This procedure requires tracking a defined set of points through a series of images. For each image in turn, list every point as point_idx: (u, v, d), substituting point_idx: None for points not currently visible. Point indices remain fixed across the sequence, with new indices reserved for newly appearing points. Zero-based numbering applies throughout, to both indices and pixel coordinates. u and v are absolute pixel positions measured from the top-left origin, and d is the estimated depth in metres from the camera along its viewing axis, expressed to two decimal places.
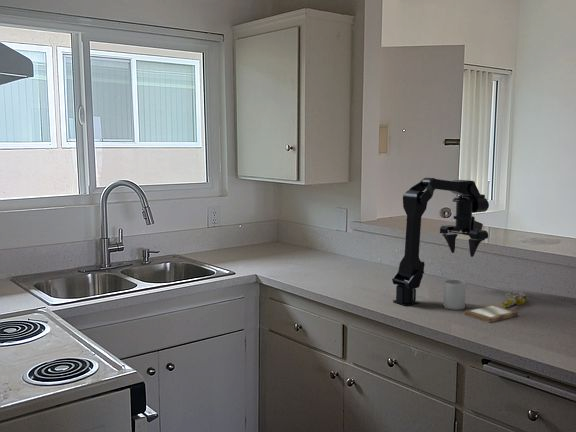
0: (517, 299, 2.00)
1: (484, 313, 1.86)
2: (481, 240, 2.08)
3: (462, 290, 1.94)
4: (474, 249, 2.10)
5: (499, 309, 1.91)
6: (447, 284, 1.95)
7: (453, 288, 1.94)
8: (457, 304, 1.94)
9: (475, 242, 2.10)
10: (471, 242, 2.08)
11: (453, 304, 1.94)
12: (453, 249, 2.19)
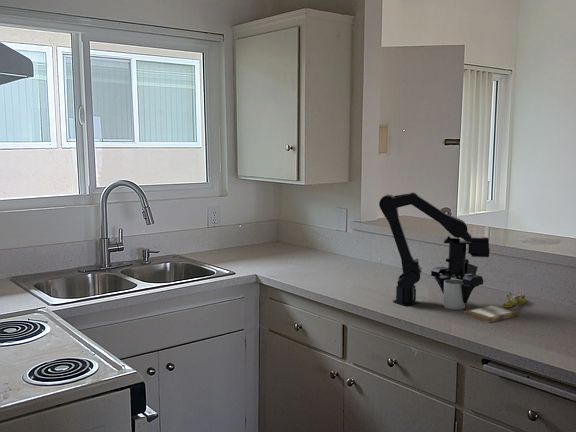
0: (517, 299, 2.00)
1: (484, 313, 1.86)
2: (475, 286, 1.92)
3: None
4: (467, 295, 1.94)
5: (499, 309, 1.91)
6: (447, 284, 1.95)
7: (453, 288, 1.94)
8: (457, 304, 1.94)
9: (468, 288, 1.93)
10: (464, 288, 1.92)
11: (453, 304, 1.94)
12: None
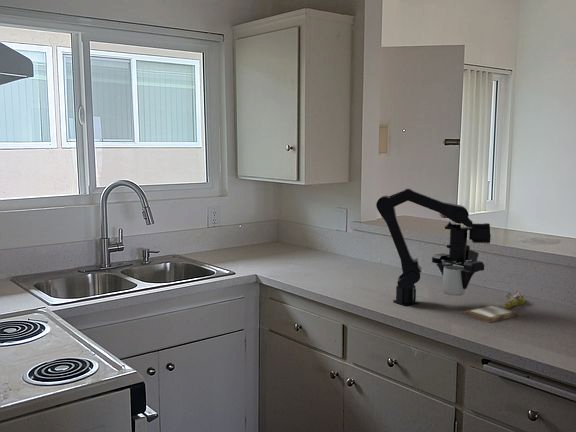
0: (518, 299, 2.00)
1: (484, 313, 1.86)
2: (475, 271, 1.92)
3: None
4: (467, 281, 1.94)
5: (499, 309, 1.91)
6: (447, 270, 1.95)
7: (453, 274, 1.93)
8: (457, 290, 1.94)
9: (468, 273, 1.93)
10: (464, 274, 1.91)
11: (453, 290, 1.94)
12: None
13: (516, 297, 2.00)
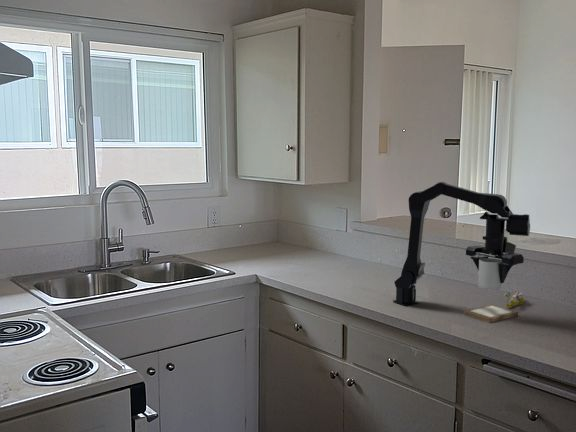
0: (518, 299, 2.00)
1: (484, 313, 1.86)
2: (513, 264, 1.81)
3: None
4: (505, 274, 1.83)
5: (499, 309, 1.91)
6: (483, 262, 1.84)
7: (490, 266, 1.83)
8: (494, 284, 1.83)
9: (506, 266, 1.82)
10: (502, 267, 1.81)
11: (490, 284, 1.83)
12: None
13: (516, 297, 2.00)
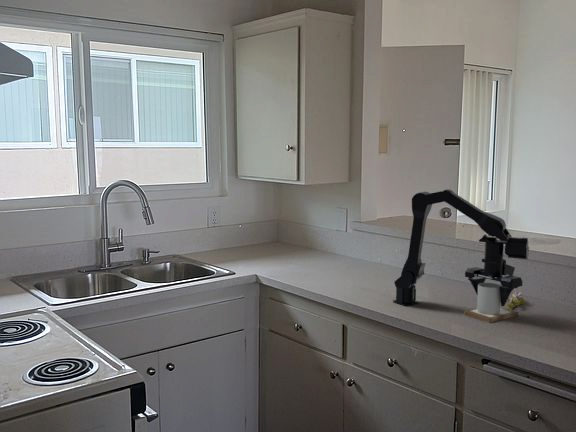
0: (518, 299, 2.00)
1: None
2: (514, 288, 1.81)
3: (498, 293, 1.84)
4: (505, 298, 1.83)
5: None
6: (482, 288, 1.85)
7: (488, 292, 1.84)
8: (493, 309, 1.84)
9: (507, 290, 1.83)
10: (502, 290, 1.81)
11: (488, 309, 1.84)
12: None
13: (517, 297, 2.00)
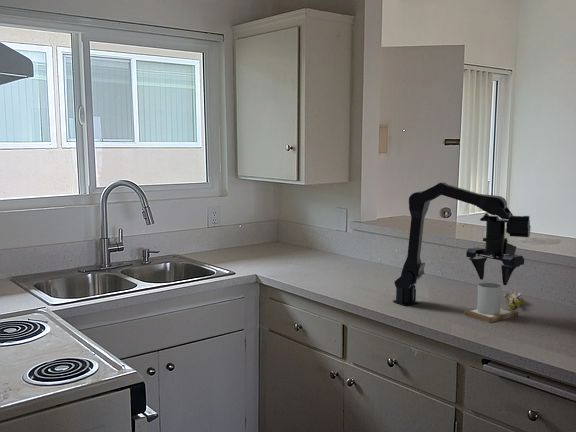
0: (518, 299, 2.00)
1: None
2: (516, 266, 1.80)
3: (498, 293, 1.84)
4: (507, 276, 1.82)
5: None
6: (482, 288, 1.85)
7: (488, 292, 1.84)
8: (493, 309, 1.84)
9: (509, 268, 1.82)
10: (504, 269, 1.80)
11: (488, 309, 1.84)
12: (482, 275, 1.91)
13: (517, 297, 2.00)
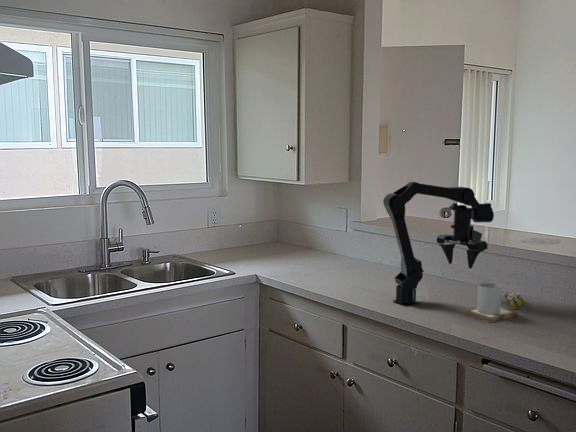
0: (519, 299, 2.00)
1: None
2: (480, 251, 1.96)
3: (498, 293, 1.84)
4: (472, 260, 1.98)
5: None
6: (482, 288, 1.85)
7: (488, 292, 1.84)
8: (493, 309, 1.84)
9: (474, 253, 1.98)
10: (469, 253, 1.96)
11: (488, 309, 1.84)
12: (450, 260, 2.07)
13: (517, 297, 2.00)
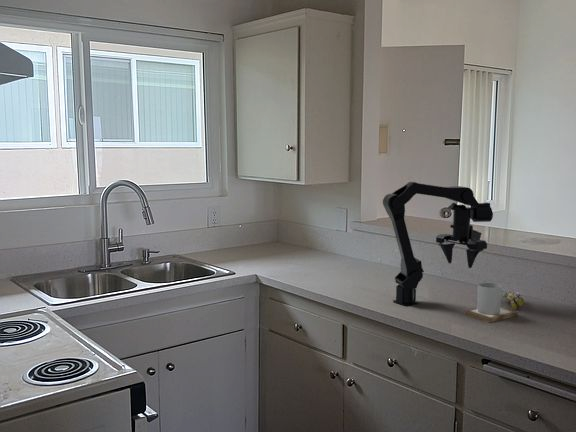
0: (519, 299, 2.00)
1: None
2: (479, 250, 1.97)
3: (498, 293, 1.84)
4: (472, 260, 1.99)
5: None
6: (482, 288, 1.85)
7: (488, 292, 1.84)
8: (493, 309, 1.84)
9: (473, 252, 1.98)
10: (469, 253, 1.96)
11: (488, 309, 1.84)
12: (450, 259, 2.07)
13: (517, 297, 2.00)
